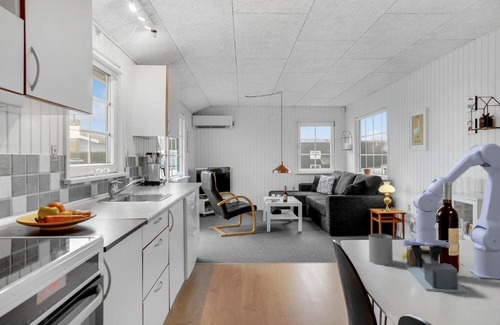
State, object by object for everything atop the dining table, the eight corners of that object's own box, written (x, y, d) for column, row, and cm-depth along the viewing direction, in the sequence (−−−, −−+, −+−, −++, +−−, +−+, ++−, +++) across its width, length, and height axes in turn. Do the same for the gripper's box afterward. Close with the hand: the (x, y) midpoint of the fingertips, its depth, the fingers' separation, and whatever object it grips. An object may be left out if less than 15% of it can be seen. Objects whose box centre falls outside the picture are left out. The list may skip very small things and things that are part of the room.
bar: (425, 264, 116) (425, 251, 116) (443, 281, 100) (443, 266, 100) (415, 264, 117) (414, 251, 117) (431, 280, 101) (430, 265, 101)
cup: (394, 265, 118) (394, 238, 118) (371, 264, 120) (371, 238, 120) (389, 259, 126) (389, 234, 126) (367, 258, 128) (367, 233, 128)
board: (435, 266, 117) (435, 264, 117) (467, 293, 92) (467, 290, 92) (403, 264, 119) (403, 263, 119) (425, 290, 95) (425, 288, 95)
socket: (431, 264, 117) (430, 247, 117) (434, 267, 114) (434, 250, 114) (407, 263, 119) (406, 246, 119) (409, 266, 115) (409, 249, 115)
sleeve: (446, 280, 101) (446, 261, 101) (457, 289, 93) (457, 269, 93) (424, 278, 102) (424, 260, 103) (433, 288, 95) (433, 268, 95)
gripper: (406, 230, 108) (407, 269, 108) (453, 231, 105) (454, 272, 105) (400, 226, 115) (401, 263, 115) (444, 227, 112) (445, 265, 112)
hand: (426, 267), depth 110 cm, fingers closed on bar, 3 cm apart
